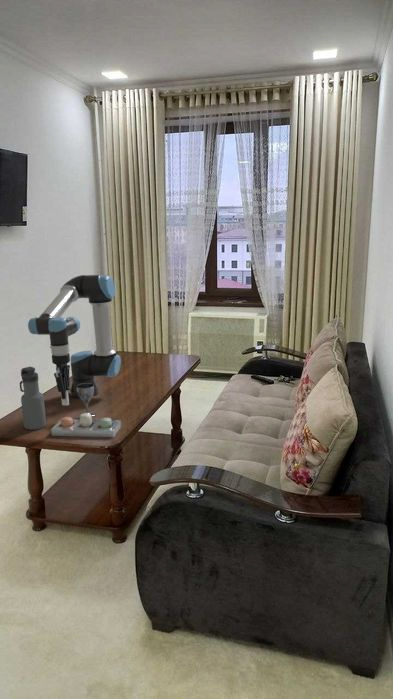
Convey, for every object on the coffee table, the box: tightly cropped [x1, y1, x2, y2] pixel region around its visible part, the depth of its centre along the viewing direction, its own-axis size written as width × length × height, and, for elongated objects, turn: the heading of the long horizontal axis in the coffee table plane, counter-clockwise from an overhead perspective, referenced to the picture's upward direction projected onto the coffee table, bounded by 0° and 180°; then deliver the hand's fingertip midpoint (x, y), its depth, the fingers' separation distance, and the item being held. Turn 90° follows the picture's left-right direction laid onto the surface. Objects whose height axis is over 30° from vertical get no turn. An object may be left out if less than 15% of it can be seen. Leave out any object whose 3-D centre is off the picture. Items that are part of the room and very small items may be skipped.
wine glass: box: [77, 383, 96, 417], centre depth 244 cm, size 8×8×15 cm
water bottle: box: [19, 366, 47, 431], centre depth 230 cm, size 10×10×28 cm
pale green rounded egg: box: [99, 417, 112, 428], centre depth 225 cm, size 5×5×5 cm
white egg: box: [79, 412, 93, 427], centre depth 226 cm, size 5×5×5 cm
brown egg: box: [60, 416, 73, 427], centre depth 227 cm, size 5×5×5 cm
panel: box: [50, 418, 122, 438], centre depth 226 cm, size 12×28×3 cm, turn 83°
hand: (65, 404), depth 225 cm, fingers closed
